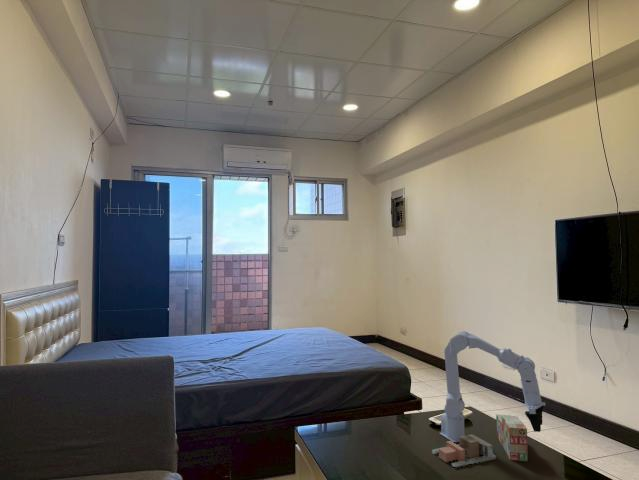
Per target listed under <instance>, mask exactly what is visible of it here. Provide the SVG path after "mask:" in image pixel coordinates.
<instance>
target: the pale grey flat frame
mask: <svg viewBox="0 0 639 480" xmlns="http://www.w3.org/2000/svg"><path fill="white" fill-rule="evenodd" d="M468 435H469V436H470V437H472V438H474V439H476V440H478V441H479V455H480V454H481V456H479V457H477V458H472V459H470V458H468V459H465V460H463V461H455V462H451V467H452V466H453V467H459V466H463V465H468V464H472V465H475V464H474V463H476V464H480V463H484V462H488V461H492V460H496V458H497V456H496V455H495V454H494V446H493V444H491V443H489V442H488V441H485V440H483V439H481V438H480V437H478V436H476V435H474V434H472V433H471V434H468ZM457 445H458V446H460V445H459V443H458V444H457ZM445 447H446V446H444V447H438V448H434V449H432V450H431V454H432V455H434V454H435V455H439V454H438V453H439V449H440V448H445ZM482 455H483V456H482ZM479 462H480V463H479ZM468 466H469V465H468ZM453 467H452V468H453ZM463 467H464V466H463ZM459 468H460V467H459Z"/></svg>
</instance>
